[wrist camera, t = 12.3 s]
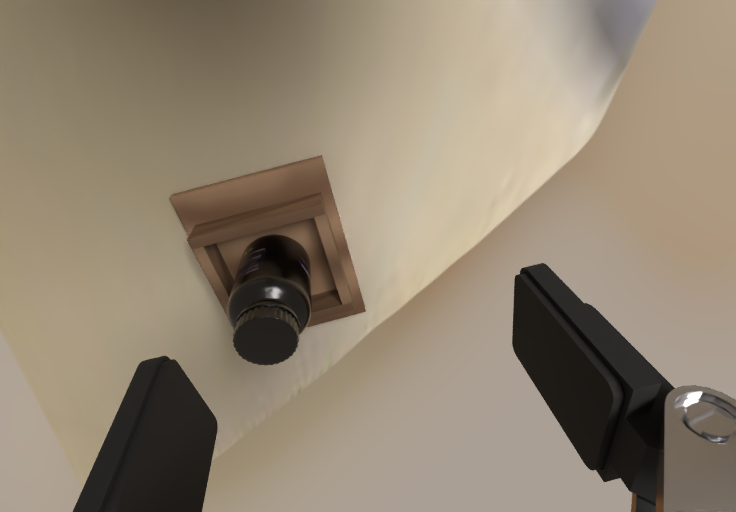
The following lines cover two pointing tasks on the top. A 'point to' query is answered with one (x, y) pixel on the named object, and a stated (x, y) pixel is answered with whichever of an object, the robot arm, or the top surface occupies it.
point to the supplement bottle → (270, 299)
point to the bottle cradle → (273, 231)
